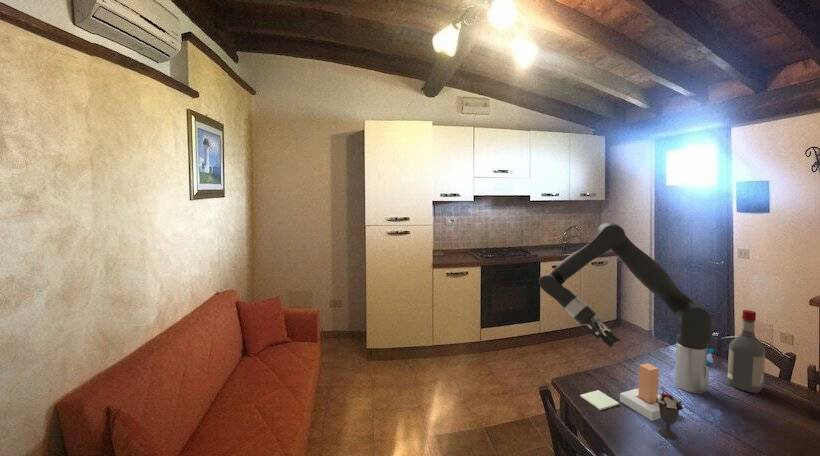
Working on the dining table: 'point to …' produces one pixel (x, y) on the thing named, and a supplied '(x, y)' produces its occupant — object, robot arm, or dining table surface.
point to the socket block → (640, 404)
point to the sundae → (668, 413)
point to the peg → (648, 383)
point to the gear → (708, 353)
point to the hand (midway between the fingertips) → (614, 343)
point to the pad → (599, 400)
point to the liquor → (746, 357)
